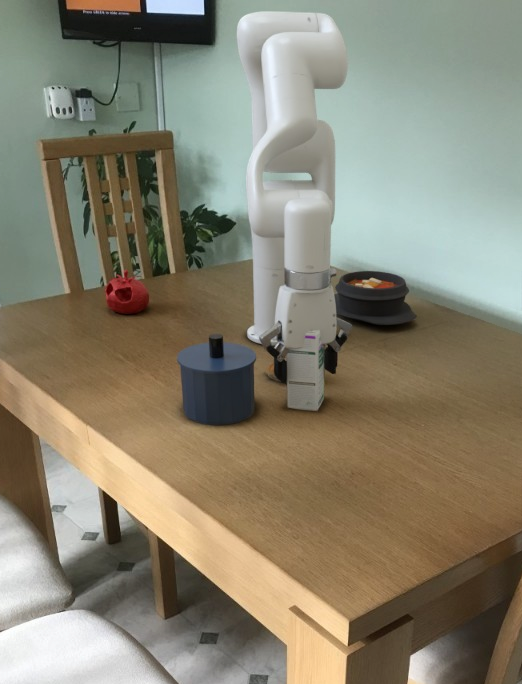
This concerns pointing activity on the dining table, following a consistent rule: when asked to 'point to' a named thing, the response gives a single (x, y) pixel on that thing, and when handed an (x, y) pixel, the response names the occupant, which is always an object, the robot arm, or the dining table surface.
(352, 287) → the casserole
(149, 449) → the dining table surface
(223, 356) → the lid
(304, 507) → the dining table surface
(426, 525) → the dining table surface
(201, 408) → the pot
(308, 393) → the syrup box
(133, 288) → the pomegranate
